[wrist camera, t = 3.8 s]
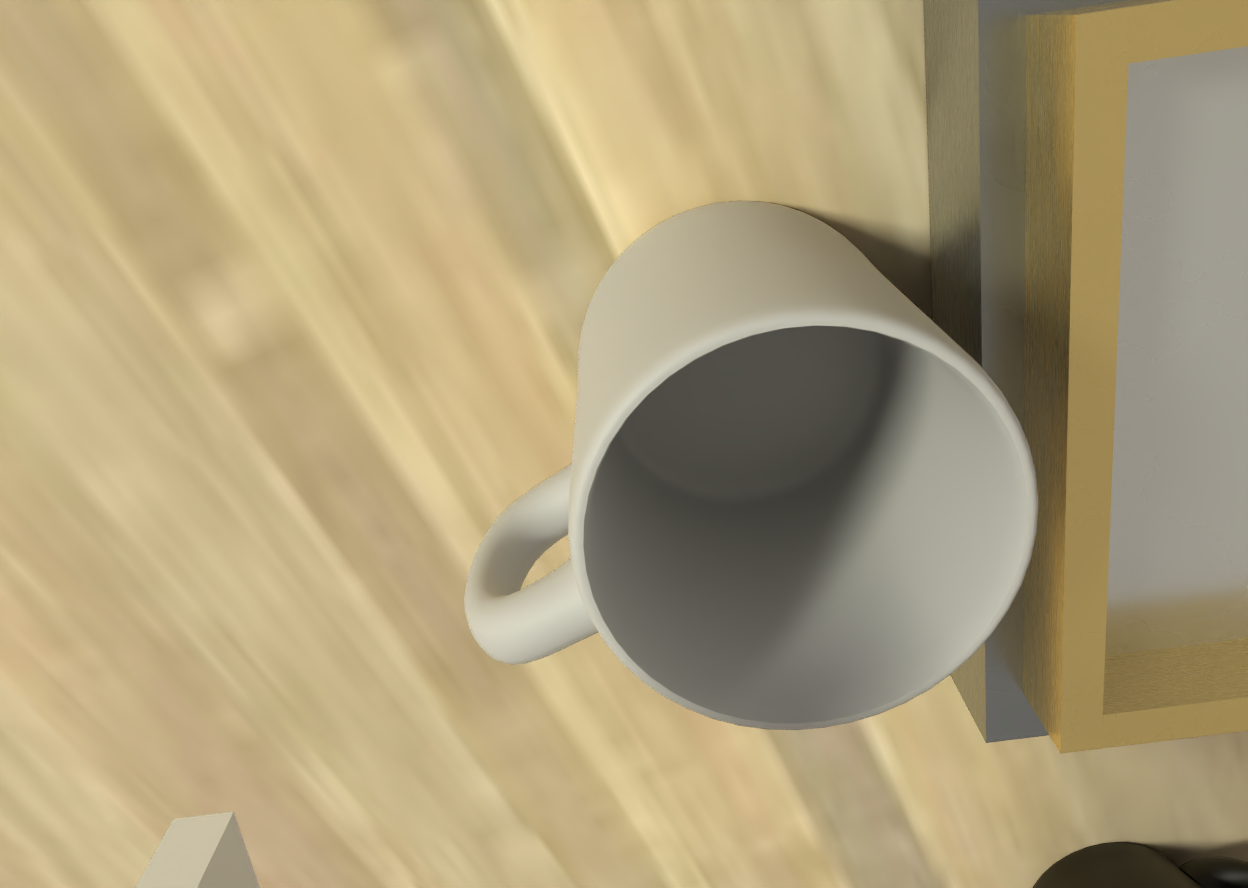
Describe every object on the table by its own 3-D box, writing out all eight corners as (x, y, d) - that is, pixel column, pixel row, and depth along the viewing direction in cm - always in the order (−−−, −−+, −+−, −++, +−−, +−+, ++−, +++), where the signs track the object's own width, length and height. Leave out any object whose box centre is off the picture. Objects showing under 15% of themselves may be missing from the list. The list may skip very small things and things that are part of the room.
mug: (797, 132, 26) (916, 203, 16) (942, 401, 29) (1121, 604, 19) (412, 373, 29) (306, 567, 19) (581, 601, 32) (569, 880, 21)
